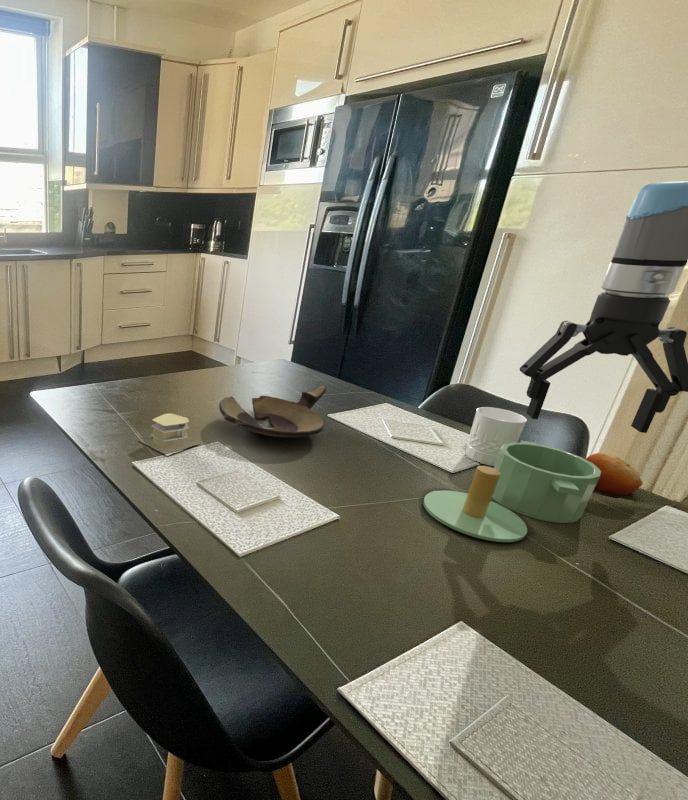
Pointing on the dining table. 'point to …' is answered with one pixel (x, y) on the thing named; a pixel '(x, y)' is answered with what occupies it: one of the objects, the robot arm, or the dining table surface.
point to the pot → (544, 482)
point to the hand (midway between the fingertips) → (583, 422)
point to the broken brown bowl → (277, 415)
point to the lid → (477, 510)
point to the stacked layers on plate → (169, 429)
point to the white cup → (493, 433)
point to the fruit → (615, 475)
